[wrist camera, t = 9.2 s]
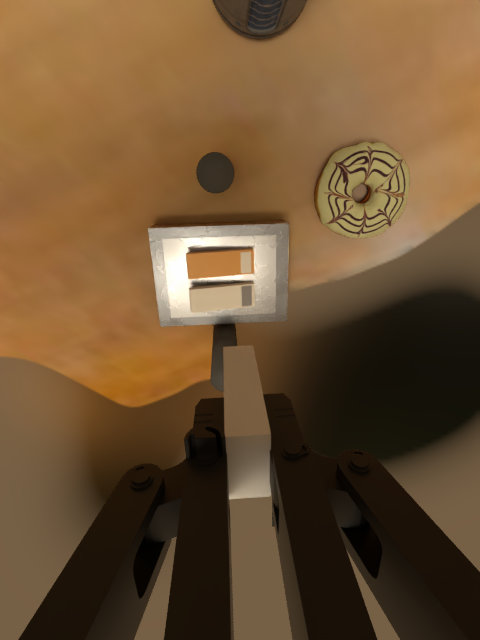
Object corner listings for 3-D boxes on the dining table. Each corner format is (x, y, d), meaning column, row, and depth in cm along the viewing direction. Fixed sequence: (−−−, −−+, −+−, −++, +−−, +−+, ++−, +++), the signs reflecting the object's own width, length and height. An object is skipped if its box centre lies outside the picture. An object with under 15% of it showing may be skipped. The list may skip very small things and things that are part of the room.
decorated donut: (316, 144, 39) (325, 139, 36) (405, 146, 40) (422, 141, 36) (308, 235, 43) (316, 239, 39) (390, 235, 43) (405, 239, 40)
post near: (205, 192, 40) (197, 193, 27) (203, 165, 39) (195, 152, 26) (230, 192, 40) (234, 192, 27) (229, 164, 39) (233, 151, 26)
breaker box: (165, 315, 46) (159, 329, 41) (154, 224, 41) (146, 229, 37) (282, 310, 46) (289, 323, 42) (284, 220, 42) (291, 223, 37)
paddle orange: (187, 277, 38) (188, 279, 37) (185, 252, 37) (186, 254, 36) (251, 271, 40) (254, 273, 39) (251, 248, 39) (254, 249, 38)
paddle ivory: (190, 310, 39) (191, 313, 38) (188, 287, 38) (189, 290, 37) (252, 303, 41) (255, 306, 40) (252, 281, 40) (254, 283, 39)
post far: (214, 336, 47) (211, 392, 34) (213, 316, 46) (209, 366, 33) (235, 335, 47) (240, 391, 34) (234, 315, 46) (240, 365, 33)
